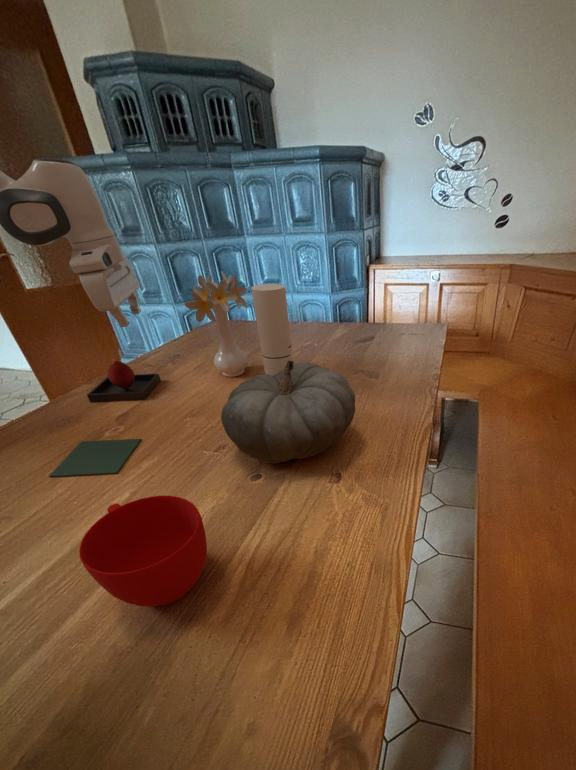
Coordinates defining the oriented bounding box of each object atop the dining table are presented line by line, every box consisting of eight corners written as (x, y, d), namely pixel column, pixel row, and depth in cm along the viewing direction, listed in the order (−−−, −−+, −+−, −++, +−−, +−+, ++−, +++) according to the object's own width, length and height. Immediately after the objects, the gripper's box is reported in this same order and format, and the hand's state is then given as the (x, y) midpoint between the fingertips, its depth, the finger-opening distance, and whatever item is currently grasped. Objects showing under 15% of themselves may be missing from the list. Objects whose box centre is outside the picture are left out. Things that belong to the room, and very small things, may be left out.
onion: (135, 382, 103) (124, 353, 98) (141, 389, 99) (130, 359, 95) (111, 388, 100) (98, 358, 95) (117, 395, 97) (104, 364, 92)
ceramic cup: (174, 523, 60) (152, 471, 54) (238, 579, 51) (221, 525, 45) (85, 573, 52) (48, 520, 46) (143, 650, 44) (107, 596, 37)
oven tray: (90, 402, 95) (86, 394, 94) (111, 382, 105) (108, 375, 103) (144, 400, 96) (142, 392, 94) (161, 380, 105) (158, 373, 104)
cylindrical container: (301, 391, 99) (290, 284, 84) (290, 403, 93) (276, 291, 78) (276, 388, 100) (260, 283, 85) (263, 400, 95) (244, 289, 80)
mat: (49, 477, 70) (48, 475, 70) (82, 443, 80) (81, 441, 79) (117, 474, 71) (116, 472, 70) (141, 440, 80) (140, 438, 80)
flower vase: (201, 387, 101) (172, 283, 86) (220, 362, 116) (198, 269, 101) (250, 386, 101) (230, 282, 86) (263, 361, 116) (248, 268, 101)
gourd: (387, 435, 76) (371, 350, 65) (283, 506, 65) (243, 419, 55) (316, 404, 92) (293, 333, 82) (224, 457, 82) (185, 383, 71)
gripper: (102, 247, 91) (131, 308, 100) (65, 266, 75) (103, 336, 84) (129, 243, 91) (155, 304, 100) (97, 261, 76) (132, 331, 85)
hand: (131, 319), depth 92 cm, fingers open, 8 cm apart
